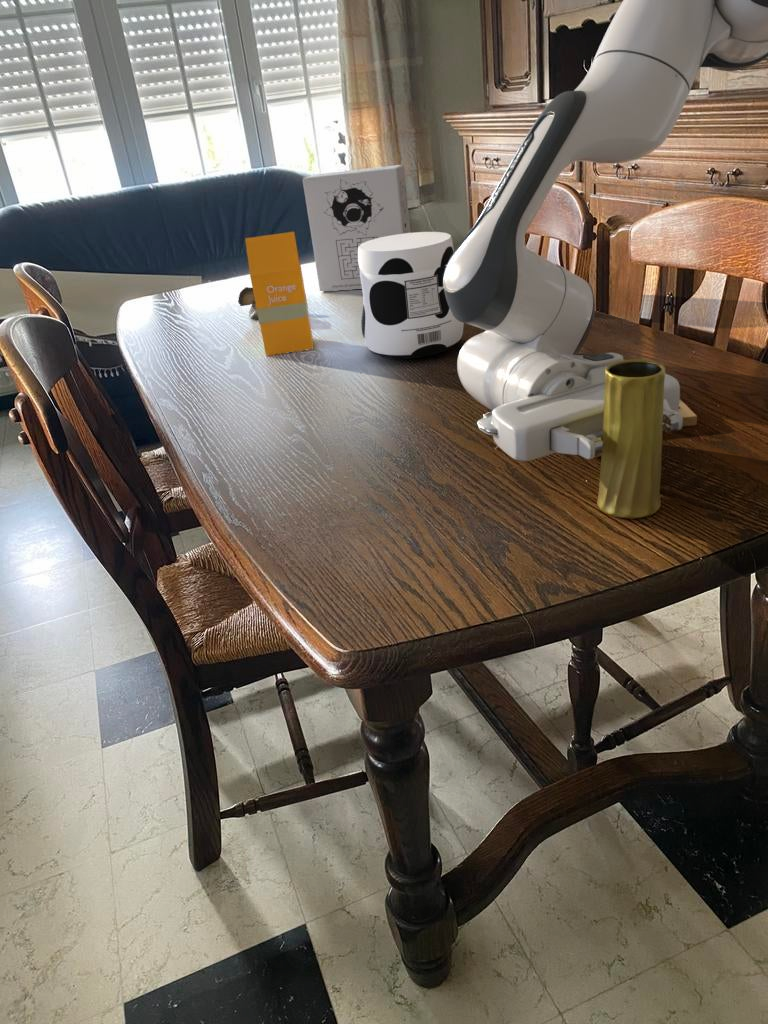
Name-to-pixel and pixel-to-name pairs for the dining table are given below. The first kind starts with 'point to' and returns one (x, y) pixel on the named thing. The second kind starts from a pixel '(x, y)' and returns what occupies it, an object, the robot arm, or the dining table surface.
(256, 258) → the orange juice
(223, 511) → the dining table surface
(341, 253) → the cereal box
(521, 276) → the robot arm
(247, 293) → the eagle figurine
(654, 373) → the vase
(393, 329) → the milk container
